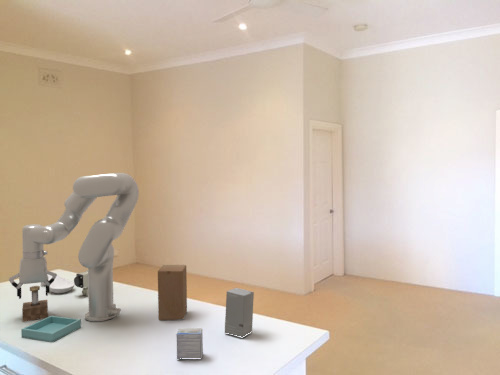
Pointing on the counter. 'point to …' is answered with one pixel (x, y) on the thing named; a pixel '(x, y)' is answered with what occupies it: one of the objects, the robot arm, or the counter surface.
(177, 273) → the wooden block
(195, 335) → the medicine box
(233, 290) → the skincare box
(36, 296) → the lock pin
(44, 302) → the block
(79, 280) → the pneumatic valve
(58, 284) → the spoon rest
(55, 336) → the tray
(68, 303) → the counter surface
